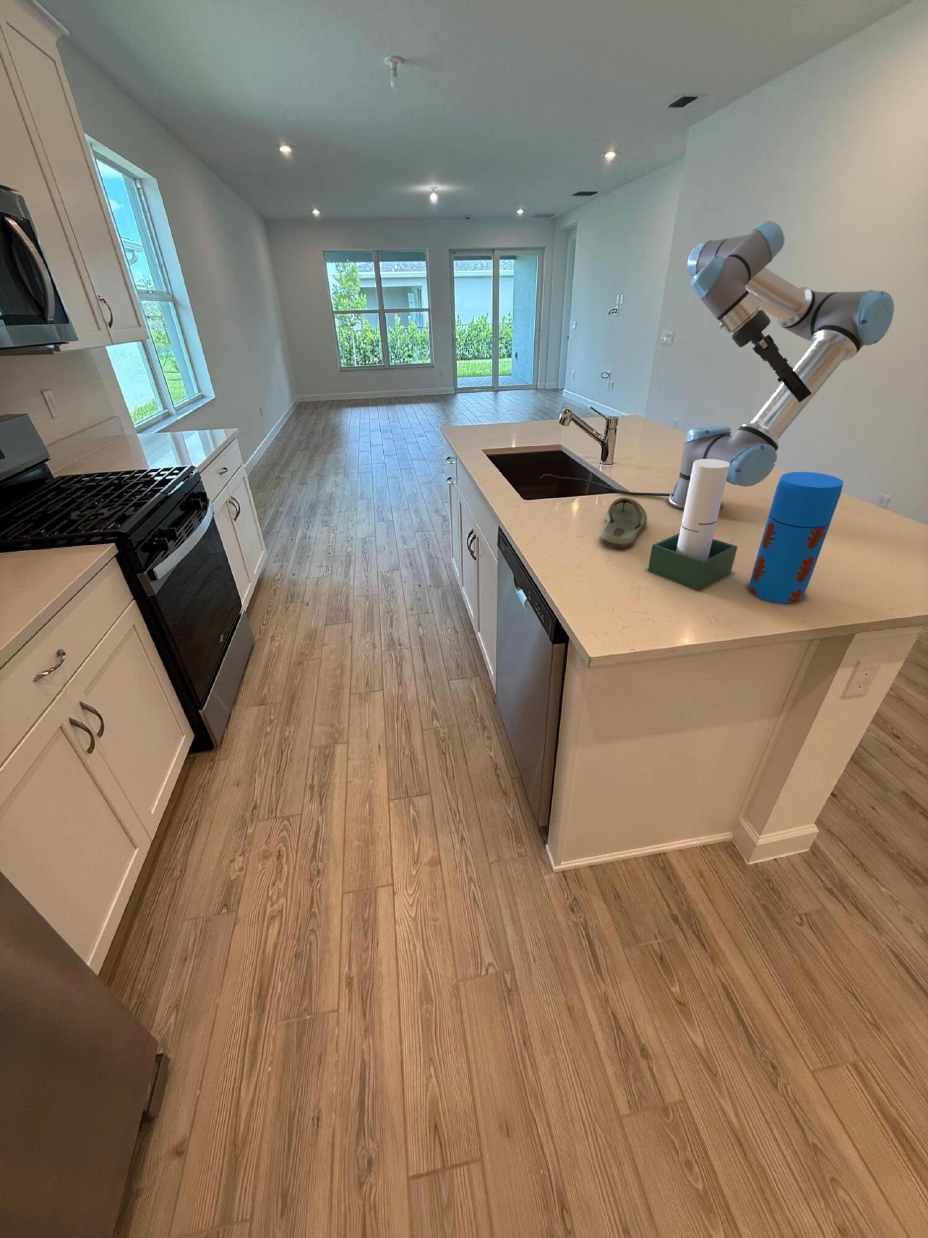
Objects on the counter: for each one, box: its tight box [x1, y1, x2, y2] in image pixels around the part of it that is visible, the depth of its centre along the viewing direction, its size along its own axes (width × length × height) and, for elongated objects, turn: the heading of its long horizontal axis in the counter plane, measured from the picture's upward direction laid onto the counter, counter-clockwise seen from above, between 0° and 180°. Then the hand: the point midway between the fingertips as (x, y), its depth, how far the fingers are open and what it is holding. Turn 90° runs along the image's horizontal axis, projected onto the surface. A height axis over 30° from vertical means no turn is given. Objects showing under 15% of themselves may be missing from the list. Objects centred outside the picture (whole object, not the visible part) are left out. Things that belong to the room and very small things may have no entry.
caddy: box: [647, 532, 739, 591], centre depth 120 cm, size 13×13×7 cm
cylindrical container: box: [676, 459, 730, 561], centre depth 114 cm, size 7×7×25 cm
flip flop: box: [598, 497, 648, 549], centre depth 142 cm, size 29×12×8 cm, turn 155°
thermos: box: [748, 471, 844, 604], centre depth 105 cm, size 11×11×25 cm
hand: (800, 392), depth 119 cm, fingers open, 13 cm apart
